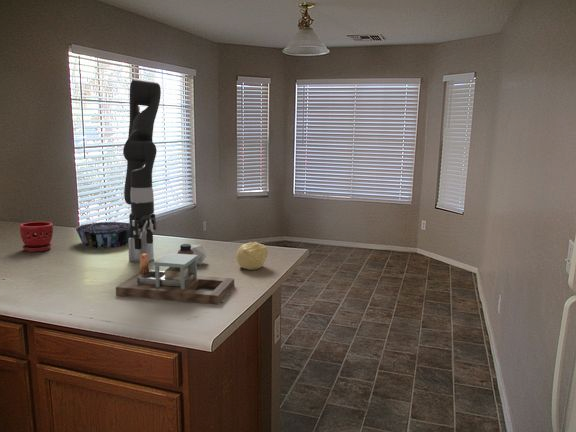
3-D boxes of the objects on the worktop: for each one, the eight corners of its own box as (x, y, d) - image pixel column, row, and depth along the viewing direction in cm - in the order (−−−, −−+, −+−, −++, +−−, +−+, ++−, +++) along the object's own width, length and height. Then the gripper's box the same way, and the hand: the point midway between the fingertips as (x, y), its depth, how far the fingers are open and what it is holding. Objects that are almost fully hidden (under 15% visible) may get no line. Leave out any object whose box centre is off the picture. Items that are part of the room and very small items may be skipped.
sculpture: (251, 273, 187) (251, 247, 185) (231, 267, 195) (230, 241, 193) (271, 267, 195) (271, 242, 193) (251, 261, 203) (251, 237, 201)
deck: (116, 295, 160) (115, 286, 160) (141, 278, 178) (141, 271, 177) (218, 304, 154) (218, 295, 154) (234, 286, 172) (234, 278, 171)
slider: (134, 282, 163) (133, 257, 162) (146, 275, 172) (145, 250, 170) (184, 287, 160) (183, 261, 159) (194, 278, 169) (193, 254, 167)
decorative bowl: (102, 257, 212) (102, 236, 210) (63, 244, 225) (62, 224, 223) (145, 245, 234) (146, 226, 232) (107, 234, 247) (107, 215, 245)
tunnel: (154, 286, 161) (153, 262, 159) (169, 276, 172) (168, 253, 171) (185, 289, 159) (184, 264, 157) (198, 278, 170) (197, 255, 169)
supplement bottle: (180, 276, 182) (179, 247, 180) (176, 271, 187) (175, 243, 185) (195, 274, 185) (195, 245, 183) (191, 269, 190) (190, 242, 188)
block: (165, 284, 163) (164, 270, 162) (172, 279, 169) (172, 265, 168) (181, 286, 162) (181, 271, 161) (188, 280, 168) (188, 266, 167)
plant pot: (45, 253, 210) (43, 226, 208) (15, 252, 210) (13, 226, 208) (59, 246, 223) (58, 221, 220) (32, 245, 223) (29, 220, 221)
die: (195, 269, 193) (209, 249, 195) (178, 258, 194) (191, 238, 195) (199, 270, 201) (212, 251, 203) (182, 259, 202) (195, 240, 203)
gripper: (141, 196, 170) (143, 241, 173) (121, 202, 156) (123, 250, 159) (161, 197, 169) (163, 242, 172) (142, 203, 155) (144, 251, 158)
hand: (144, 246), depth 165 cm, fingers open, 8 cm apart
